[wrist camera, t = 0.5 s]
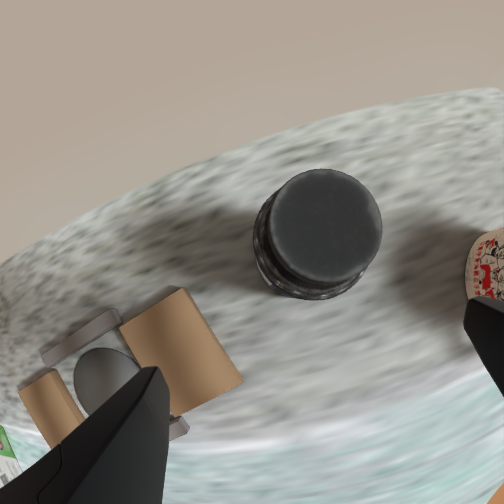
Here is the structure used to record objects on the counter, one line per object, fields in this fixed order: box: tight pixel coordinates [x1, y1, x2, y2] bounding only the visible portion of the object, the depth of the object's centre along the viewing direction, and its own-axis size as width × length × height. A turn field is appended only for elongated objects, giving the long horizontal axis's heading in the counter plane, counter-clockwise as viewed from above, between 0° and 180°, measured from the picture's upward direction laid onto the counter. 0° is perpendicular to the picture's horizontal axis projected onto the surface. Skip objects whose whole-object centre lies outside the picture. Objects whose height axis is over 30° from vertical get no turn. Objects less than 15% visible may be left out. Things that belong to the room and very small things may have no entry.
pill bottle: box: [253, 169, 382, 300], centre depth 17 cm, size 6×6×11 cm
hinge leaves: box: [18, 288, 243, 449], centre depth 21 cm, size 21×11×1 cm, turn 122°
